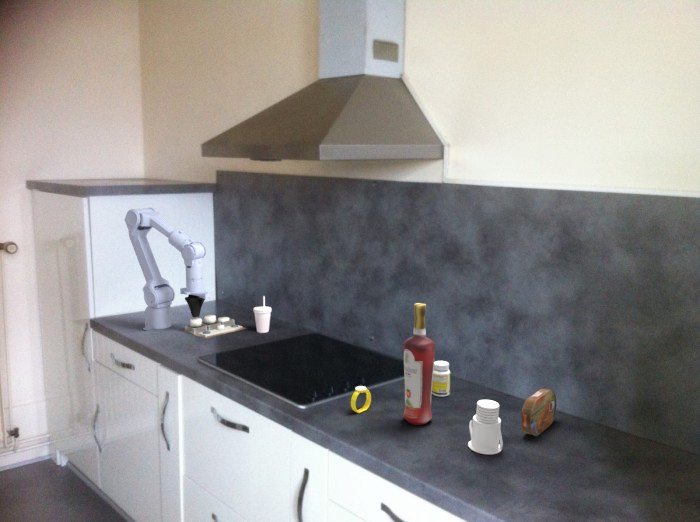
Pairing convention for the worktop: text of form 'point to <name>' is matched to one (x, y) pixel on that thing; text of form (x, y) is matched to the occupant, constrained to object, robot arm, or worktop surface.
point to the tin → (538, 412)
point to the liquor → (418, 371)
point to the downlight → (486, 428)
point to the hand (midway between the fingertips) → (195, 316)
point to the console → (210, 328)
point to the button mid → (209, 319)
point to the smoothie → (262, 317)
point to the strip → (220, 330)
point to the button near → (195, 322)
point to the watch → (353, 400)
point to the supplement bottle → (441, 379)
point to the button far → (223, 319)
